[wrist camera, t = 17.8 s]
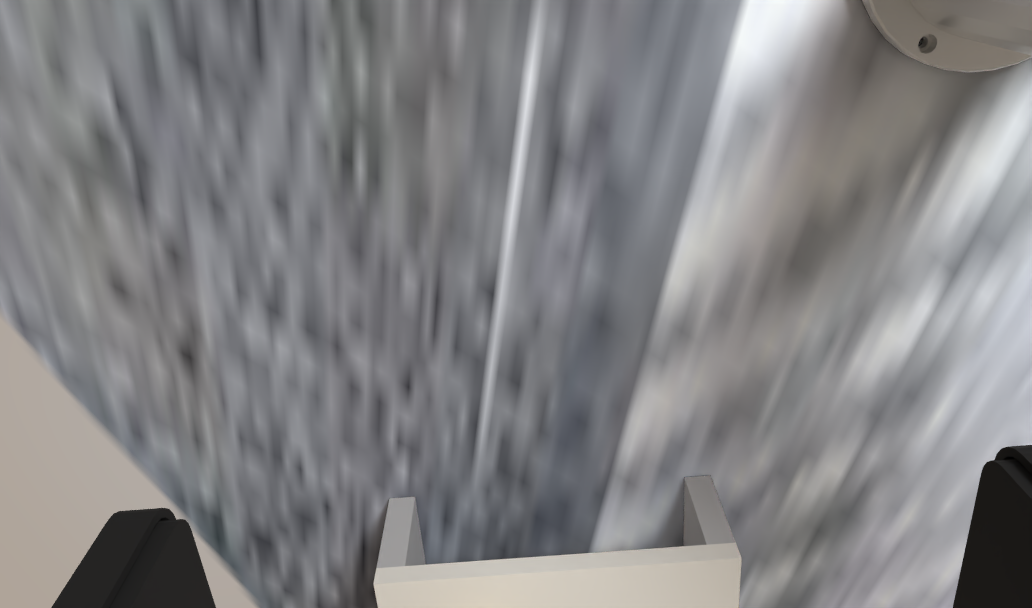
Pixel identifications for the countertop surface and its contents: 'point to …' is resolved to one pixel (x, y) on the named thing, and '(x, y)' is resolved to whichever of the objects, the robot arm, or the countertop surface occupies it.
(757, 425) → the countertop surface
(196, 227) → the countertop surface
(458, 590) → the notched white bracket
